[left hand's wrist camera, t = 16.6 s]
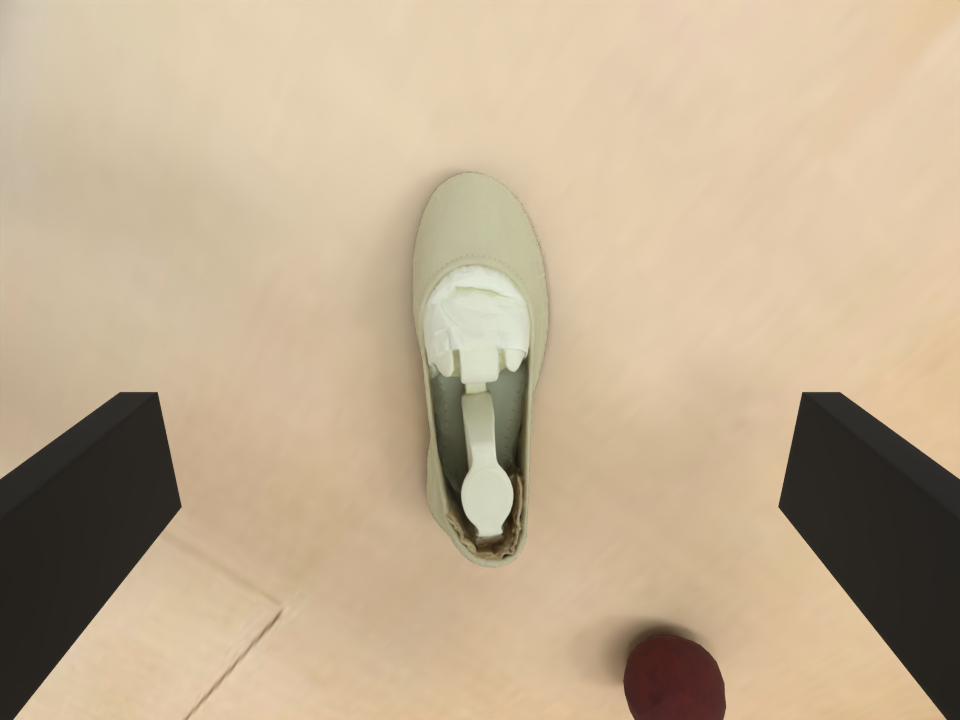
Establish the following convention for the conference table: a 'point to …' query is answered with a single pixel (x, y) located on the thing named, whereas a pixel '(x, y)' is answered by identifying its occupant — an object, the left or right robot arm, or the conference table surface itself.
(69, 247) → the conference table surface
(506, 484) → the ballet flat
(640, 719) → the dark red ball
